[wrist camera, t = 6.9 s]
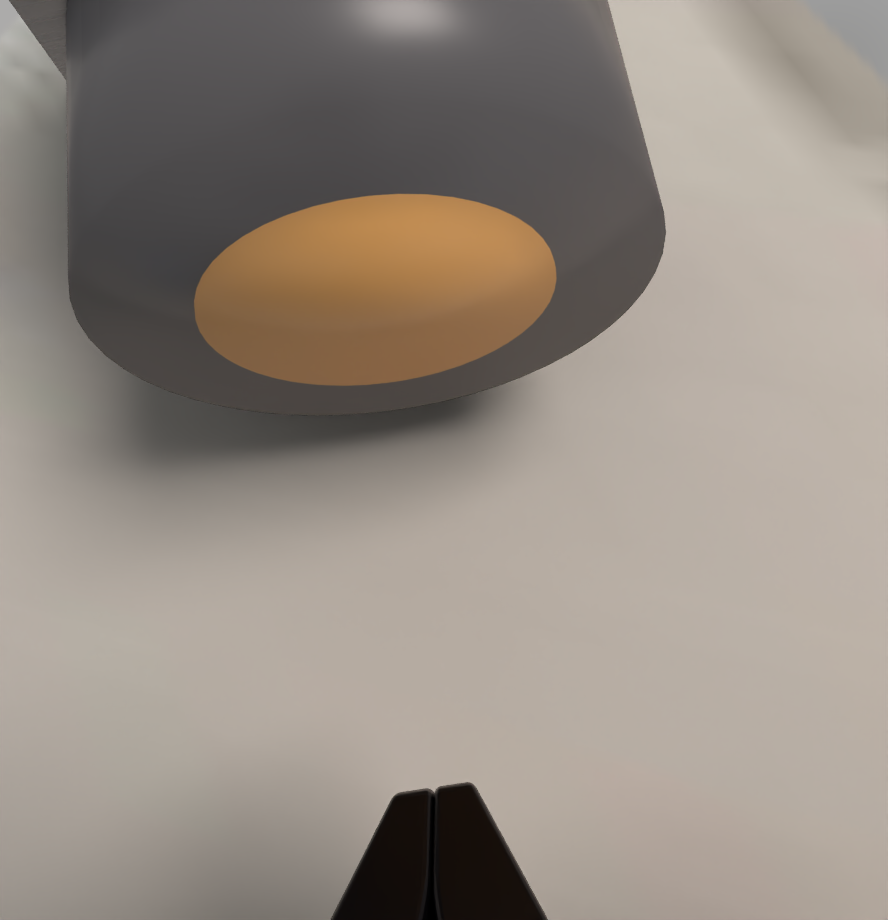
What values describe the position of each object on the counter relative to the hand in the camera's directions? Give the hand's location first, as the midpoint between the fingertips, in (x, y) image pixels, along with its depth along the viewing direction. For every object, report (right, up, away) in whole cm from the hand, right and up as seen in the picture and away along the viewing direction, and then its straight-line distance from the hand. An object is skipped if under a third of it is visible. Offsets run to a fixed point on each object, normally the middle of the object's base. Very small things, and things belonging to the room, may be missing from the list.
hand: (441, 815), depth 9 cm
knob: (-1, +11, +9) cm, 14 cm away
